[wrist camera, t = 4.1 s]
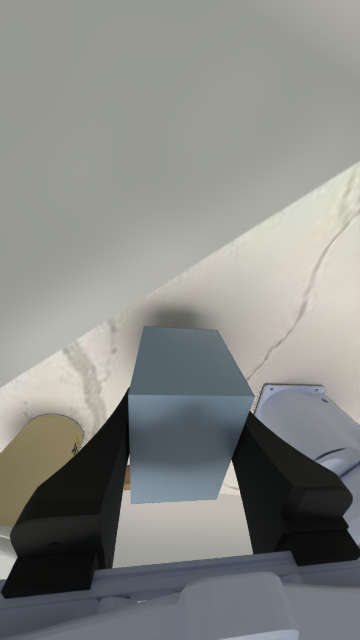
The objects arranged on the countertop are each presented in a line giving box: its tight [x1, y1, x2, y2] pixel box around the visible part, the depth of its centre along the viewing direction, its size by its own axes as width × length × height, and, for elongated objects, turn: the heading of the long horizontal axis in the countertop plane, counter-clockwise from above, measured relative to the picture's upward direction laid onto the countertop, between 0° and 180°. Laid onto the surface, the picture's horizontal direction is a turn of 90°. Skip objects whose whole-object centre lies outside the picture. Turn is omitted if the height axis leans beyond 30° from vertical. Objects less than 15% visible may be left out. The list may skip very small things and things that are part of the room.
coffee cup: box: [0, 414, 83, 580], centre depth 20 cm, size 9×9×12 cm
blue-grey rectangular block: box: [128, 326, 255, 504], centre depth 13 cm, size 6×10×7 cm, turn 175°
